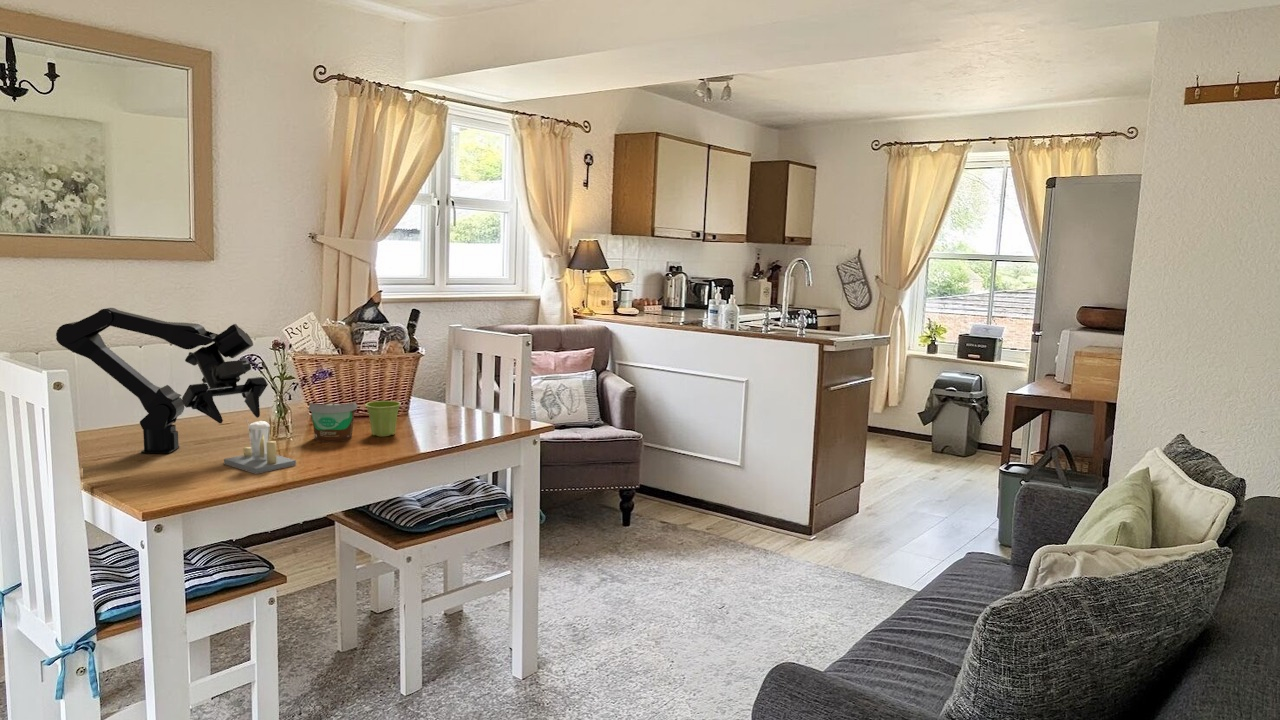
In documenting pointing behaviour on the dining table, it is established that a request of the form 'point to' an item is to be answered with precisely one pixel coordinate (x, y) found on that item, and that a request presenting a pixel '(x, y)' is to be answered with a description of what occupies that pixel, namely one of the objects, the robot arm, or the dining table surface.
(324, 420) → the food container
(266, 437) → the milkshake
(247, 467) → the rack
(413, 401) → the dining table surface
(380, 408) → the plant pot
